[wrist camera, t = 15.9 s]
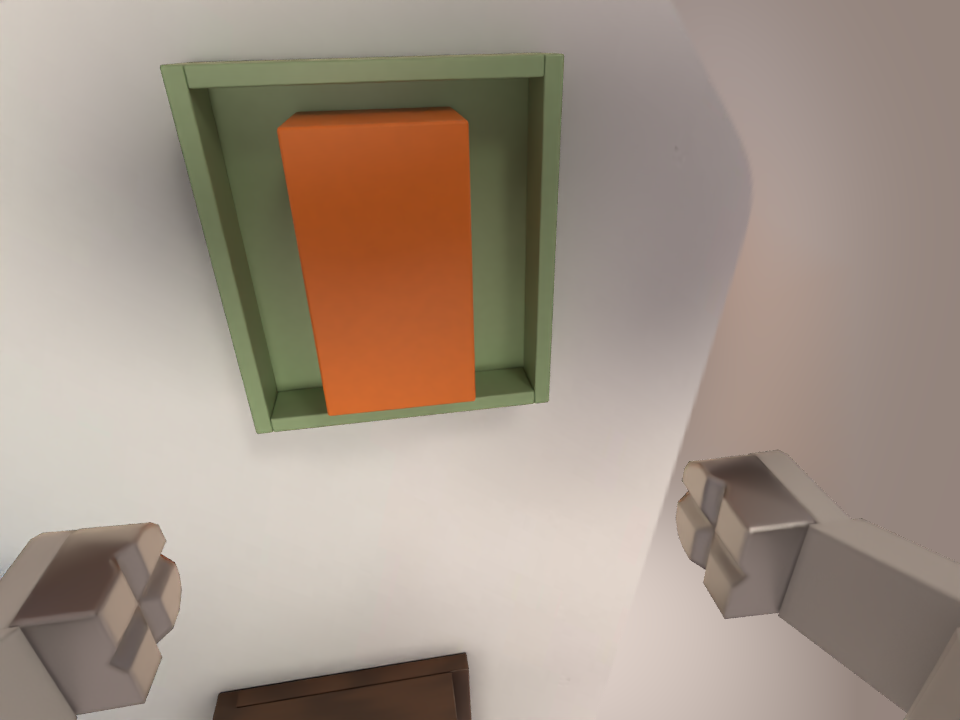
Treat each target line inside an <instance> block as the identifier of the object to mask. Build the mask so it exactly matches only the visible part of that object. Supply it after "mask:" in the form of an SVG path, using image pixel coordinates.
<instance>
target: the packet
mask: <svg viewBox="0 0 960 720" xmlns="http://www.w3.org/2000/svg"><path fill="white" fill-rule="evenodd" d="M277 135H278V141H279V147H280V152H281V158H282V163H283V169H284V174H285V180H286V185H287V191H288V196H289V202H290V208H291V213H292V219H293V224H294V230H295V235H296V241H297V246H298V252H299V258H300V263H301V269H302V274H303V280H304V285H305V291H306V296H307V302H308V307H309V313H310V319H311V324H312V330H313V335H314V341H315V346H316V352H317V357H318V363H319V368H320V374H321V380H322V385H323V391H324V396H325V402H326V407H327V413H328V415H329V416H336V415H345V414H355V413H365V412H374V411H384V410H394V409H403V408H413V407H423V406H432V405H442V404H451V403H461V402H471V401H475V399H476V389H475V350H474V312H473V273H472V234H471V195H470V157H469V123H468V121H467V120H466V119H465V118H463V117H462V116H461V115H460V114H459V113H457V112H456V111H455V110H454V109H453V108H451V107H421V108H392V109H364V110H335V111H307V112H296V113H295V114H293V115H292V116H291V117H290V118H289V119H288V120H286V121H285V122H284V123H283V124H282V125H281V126H279V127H278V128H277Z"/></svg>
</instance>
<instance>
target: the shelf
mask: <svg viewBox="0 0 960 720" xmlns="http://www.w3.org/2000/svg"><path fill="white" fill-rule="evenodd" d="M213 720H471V706H470V686H469V668H468V661H467V655H466V653H464V654H458V655H452V656H446V657H440V658H433V659H427V660H421V661H415V662H409V663H403V664H397V665H391V666H385V667H379V668H373V669H367V670H360V671H354V672H348V673H342V674H336V675H330V676H324V677H318V678H312V679H306V680H300V681H293V682H287V683H281V684H275V685H269V686H263V687H257V688H251V689H245V690H238V691H232V692H226V693H220V694H219V695H218V699H217V703H216V707H215V711H214V716H213Z"/></svg>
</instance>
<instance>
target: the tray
mask: <svg viewBox="0 0 960 720" xmlns="http://www.w3.org/2000/svg"><path fill="white" fill-rule="evenodd" d="M160 70H161V74H162V77H163V81H164V85H165V89H166V92H167V96H168V100H169V104H170V108H171V111H172V115H173V119H174V123H175V126H176V130H177V134H178V138H179V142H180V145H181V149H182V153H183V157H184V160H185V164H186V168H187V172H188V176H189V179H190V183H191V187H192V191H193V195H194V198H195V202H196V206H197V210H198V213H199V217H200V221H201V225H202V229H203V232H204V236H205V240H206V244H207V247H208V251H209V255H210V259H211V263H212V266H213V270H214V274H215V278H216V282H217V285H218V289H219V293H220V297H221V300H222V304H223V308H224V312H225V316H226V319H227V323H228V327H229V331H230V334H231V338H232V342H233V346H234V350H235V353H236V357H237V361H238V365H239V369H240V372H241V376H242V380H243V384H244V387H245V391H246V395H247V399H248V403H249V406H250V410H251V414H252V418H253V421H254V425H255V429H256V433H257V434H261V433H270V432H273V431H274V432H278V431H287V430H297V429H306V428H315V427H324V426H333V425H342V424H352V423H361V422H370V421H379V420H388V419H397V418H407V417H416V416H425V415H434V414H443V413H452V412H462V411H471V410H480V409H489V408H498V407H507V406H517V405H526V404H533V403H545V402H548V401H549V384H550V361H551V339H552V317H553V294H554V272H555V249H556V227H557V204H558V182H559V160H560V137H561V115H562V92H563V70H564V54H559V53H509V54H473V55H437V56H401V57H365V58H329V59H293V60H257V61H221V62H187V63H177V64H166V65H161V66H160ZM421 107H451V108H453V109H454V110H455V111H456V112H457V113H459V114H460V115H461V116H462V117H463V118H465V119H466V120H467V121H468V123H469V157H470V195H471V234H472V273H473V312H474V350H475V389H476V399H475V401H471V402H461V403H451V404H442V405H432V406H423V407H413V408H403V409H394V410H384V411H374V412H365V413H355V414H345V415H336V416H329V415H328V413H327V407H326V402H325V396H324V391H323V385H322V380H321V374H320V368H319V363H318V357H317V352H316V346H315V341H314V335H313V330H312V324H311V319H310V313H309V307H308V302H307V296H306V291H305V285H304V280H303V274H302V269H301V263H300V258H299V252H298V246H297V241H296V235H295V230H294V224H293V219H292V213H291V208H290V202H289V196H288V191H287V185H286V180H285V174H284V169H283V163H282V158H281V152H280V147H279V141H278V135H277V128H278V127H279V126H281V125H282V124H283V123H284V122H285V121H286V120H288V119H289V118H290V117H291V116H292V115H293V114H295V113H296V112H307V111H335V110H364V109H392V108H421Z"/></svg>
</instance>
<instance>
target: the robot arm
mask: <svg viewBox="0 0 960 720" xmlns="http://www.w3.org/2000/svg"><path fill="white" fill-rule="evenodd" d="M682 482H683V483H684V485H685V486H686V488H687V489H688V492H687V493H686V494H685V495H684V496H683V497H682V498H681V499H680V500H679V501H678V505H677V512H676V524H677V531H678V536H679V539H680V541H681V544H682V547H683V548H684V551H685V552H686V554H687V556H688V558H689V559H690V560H691V561H692V562H694V563H696V564H697V565H699V566H700V567H702V568H704V569H705V570H706V571H705V576H704V581H703V583H704V585H705V587H706V588H707V590H708V591H709V593H710V595H711V597H712V598H713V600H714V602H715V603H716V605H717V607H718V608H719V610H720V612H721V613H722V615H723V617H724V619H729V618H738V617H746V616H754V615H764V614H772V613H779V615H778V616H780V618H782V619H783V620H785V621H786V622H787V623H788V624H790V625H791V626H792V627H794V628H795V629H797V630H798V631H799V632H800V633H802V634H803V635H804V636H806V637H807V638H808V639H810V640H811V641H812V642H814V643H815V644H816V645H818V646H819V647H820V648H822V649H823V650H824V651H825V652H827V653H828V654H829V655H831V656H832V657H833V658H835V659H836V660H837V661H839V662H840V663H842V664H843V665H844V666H846V667H847V668H848V669H849V670H851V671H852V672H854V673H855V674H856V675H857V676H859V677H860V678H861V679H863V680H864V681H865V682H867V683H868V684H869V685H871V686H872V687H873V688H875V689H876V690H877V691H878V692H880V693H881V694H882V695H884V696H885V697H886V698H888V699H889V700H890V701H892V702H893V703H894V704H896V705H897V706H898V707H900V708H901V709H902V710H904V711H905V712H906V713H907V715H906V716H905V718H904V720H960V563H958V562H956V561H954V560H952V559H950V558H947V557H945V556H943V555H941V554H939V553H937V552H934V551H932V550H930V549H928V548H926V547H923V546H921V545H919V544H917V543H915V542H913V541H910V540H908V539H906V538H904V537H902V536H899V535H897V534H895V533H893V532H891V531H888V530H886V529H884V528H882V527H880V526H878V525H875V524H873V523H871V522H869V521H867V520H864V519H862V518H859V519H851V518H850V517H849V516H848V515H847V514H846V513H845V512H844V511H843V510H842V509H841V508H840V507H839V506H838V505H837V504H836V503H835V502H834V501H833V500H832V499H831V498H830V497H829V496H828V495H827V493H825V492H824V490H823V489H821V487H820V486H819V485H817V483H816V482H814V480H812V478H811V477H810V476H809V475H808V474H807V473H806V472H805V471H804V470H803V469H802V468H801V467H800V466H799V465H798V464H797V463H796V462H795V461H794V460H793V459H792V458H791V457H790V456H789V455H788V454H786V453H784V452H782V451H780V450H773V451H765V452H758V453H750V454H748V455H738V456H730V457H721V458H713V459H705V460H696V461H689V462H688V464H687V465H686V467H685V469H684V473H683V478H682ZM165 543H166V539H165V537H164V535H163V533H162V531H161V529H160V526H159V525H158V524H154V523H151V522H149V523H138V524H127V525H116V526H105V527H93V528H82V529H79V530H69V531H57V532H46V533H41V534H39V535H38V536H36V537H34V538H32V539H31V540H30V541H29V542H28V544H27V545H26V546H25V548H24V549H23V550H22V552H21V553H20V554H19V556H18V557H17V558H16V560H15V561H14V562H13V564H12V565H11V566H10V568H9V569H8V570H7V572H6V573H5V574H4V576H3V577H2V578H1V580H0V720H77V716H76V715H79V714H85V713H91V712H97V711H103V710H108V709H114V708H120V707H126V706H131V705H137V704H143V703H145V701H146V698H147V696H148V693H149V690H150V688H151V685H152V683H153V680H154V677H155V675H156V672H157V669H158V667H159V664H160V662H161V659H162V655H161V653H160V651H159V649H158V647H157V643H158V642H159V641H160V640H161V639H162V638H163V637H164V636H165V635H167V634H168V633H169V632H170V631H171V630H172V629H173V627H174V624H175V621H176V619H177V616H178V613H179V610H180V601H181V592H182V588H181V581H180V574H179V572H178V569H177V566H176V564H175V562H173V561H172V560H170V559H168V558H167V557H165V556H164V555H162V554H161V552H162V550H163V548H164V545H165Z"/></svg>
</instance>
